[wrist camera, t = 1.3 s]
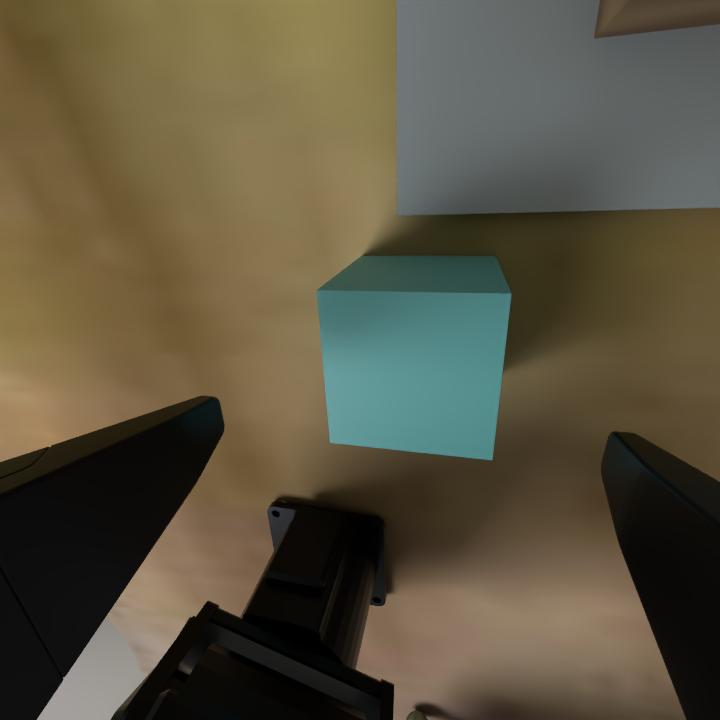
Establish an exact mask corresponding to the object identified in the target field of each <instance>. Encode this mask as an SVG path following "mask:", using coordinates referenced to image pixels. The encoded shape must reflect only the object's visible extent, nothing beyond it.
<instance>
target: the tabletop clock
mask: <svg viewBox="0 0 720 720" xmlns="http://www.w3.org/2000/svg"><path fill="white" fill-rule="evenodd" d="M406 720H428V719H427V717H426V716H425V715H424V714H423V713H422V712H420V711H412V712H411V713H410V714H409V715H408V717H407V719H406Z"/></svg>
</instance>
